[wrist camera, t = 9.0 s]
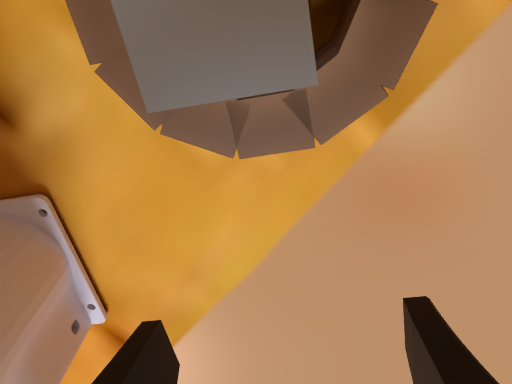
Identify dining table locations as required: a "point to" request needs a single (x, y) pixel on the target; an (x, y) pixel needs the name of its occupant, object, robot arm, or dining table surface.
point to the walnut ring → (283, 102)
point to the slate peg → (216, 49)
